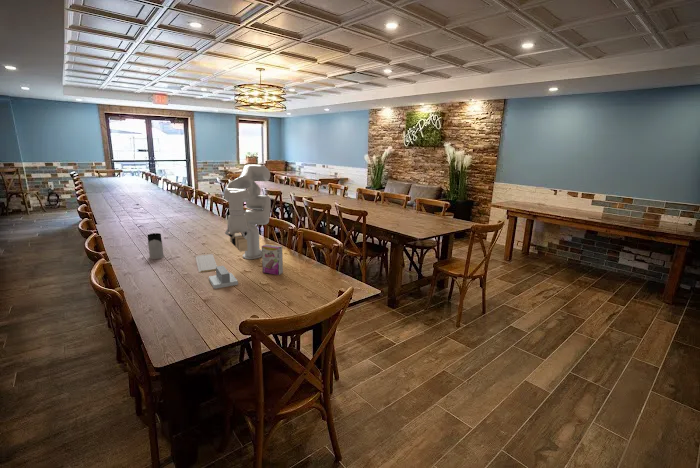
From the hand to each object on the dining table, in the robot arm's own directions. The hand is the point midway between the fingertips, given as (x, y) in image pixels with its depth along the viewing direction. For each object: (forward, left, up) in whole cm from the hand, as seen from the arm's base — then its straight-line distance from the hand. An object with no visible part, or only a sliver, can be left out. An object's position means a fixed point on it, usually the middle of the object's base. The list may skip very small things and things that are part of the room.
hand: (238, 243), depth 197 cm
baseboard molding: (+15, -25, -18) cm, 34 cm away
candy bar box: (-16, +11, -17) cm, 26 cm away
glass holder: (+39, -55, -17) cm, 70 cm away
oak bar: (0, 0, -1) cm, 1 cm away
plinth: (+12, +12, -17) cm, 24 cm away
